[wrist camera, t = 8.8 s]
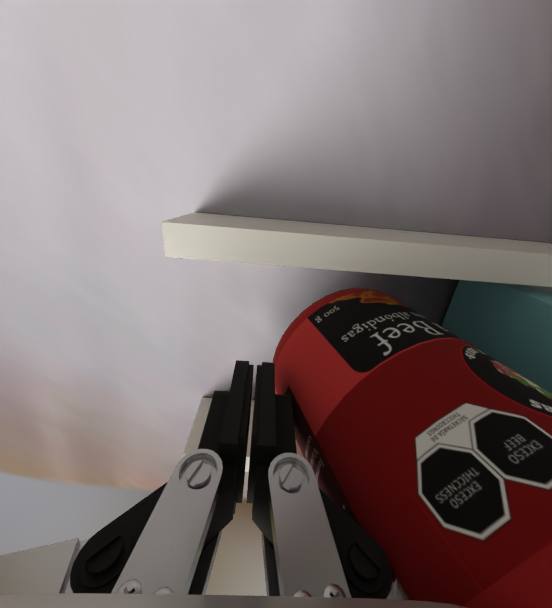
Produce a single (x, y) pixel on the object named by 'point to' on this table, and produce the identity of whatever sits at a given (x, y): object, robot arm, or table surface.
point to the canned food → (425, 448)
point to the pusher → (506, 326)
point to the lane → (351, 258)
